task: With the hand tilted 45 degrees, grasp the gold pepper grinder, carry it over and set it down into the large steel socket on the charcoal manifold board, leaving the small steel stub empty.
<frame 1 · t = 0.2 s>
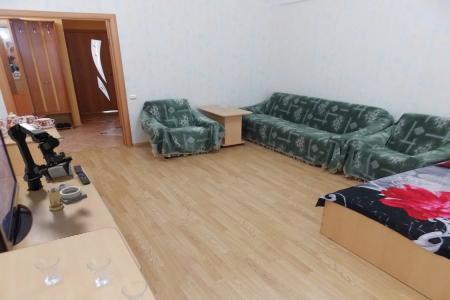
hand: (60, 178, 156), 14 cm above the table, tool tilted 30°, fingers open, 9 cm apart
hinge: (59, 176, 193), on the table
gold pepper grinder: (56, 207, 154), on the table
manifold board: (67, 194, 169), on the table
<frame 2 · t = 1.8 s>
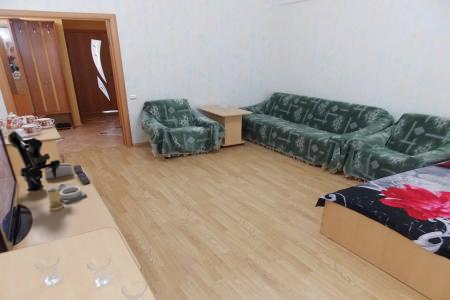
hand: (46, 180, 155), 14 cm above the table, tool tilted 45°, fingers open, 9 cm apart
nothing on the table moved.
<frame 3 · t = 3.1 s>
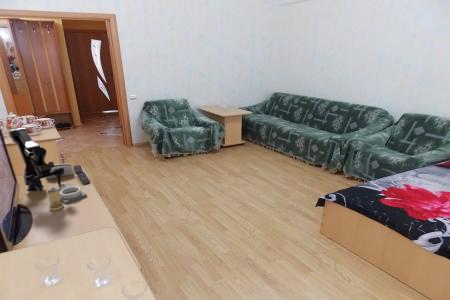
hand: (51, 189, 153), 10 cm above the table, tool tilted 45°, fingers open, 9 cm apart
nothing on the table moved.
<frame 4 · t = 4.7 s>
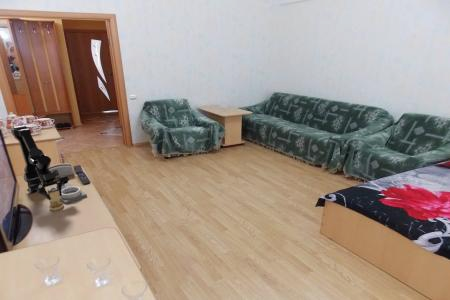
hand: (55, 197, 151), 7 cm above the table, tool tilted 45°, fingers closed on gold pepper grinder, 5 cm apart
gold pepper grinder: (56, 207, 154), on the table, touching gripper
everything else where it was.
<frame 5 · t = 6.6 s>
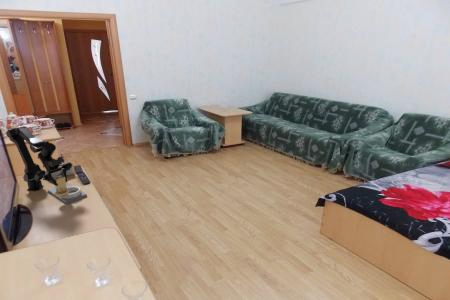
hand: (61, 183, 155), 12 cm above the table, tool tilted 45°, fingers closed on gold pepper grinder, 5 cm apart
gold pepper grinder: (62, 193, 158), point 6 cm above the table, touching gripper
everything else where it was.
when the fingers open (9 cm above the table, at t = 8.8 s): gold pepper grinder stays where it is, resting on manifold board.
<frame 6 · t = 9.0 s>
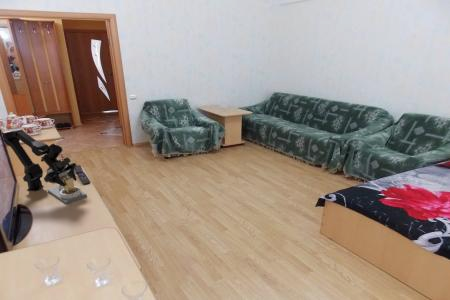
hand: (70, 183, 163), 9 cm above the table, tool tilted 45°, fingers open, 8 cm apart
gold pepper grinder: (70, 194, 166), point 2 cm above the table, touching manifold board
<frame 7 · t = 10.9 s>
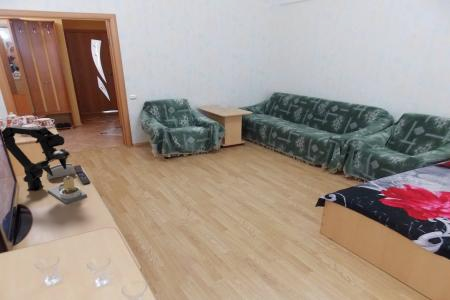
hand: (59, 172, 169), 12 cm above the table, tool tilted 15°, fingers open, 9 cm apart
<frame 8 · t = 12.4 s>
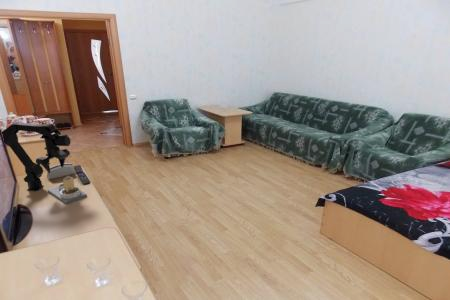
hand: (55, 169, 170), 13 cm above the table, tool pointing down, fingers open, 9 cm apart
at the end: gold pepper grinder 0.2 cm from the target spot, point 1.6 cm above the table; gold pepper grinder tilted 1°; the gripper is holding nothing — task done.
